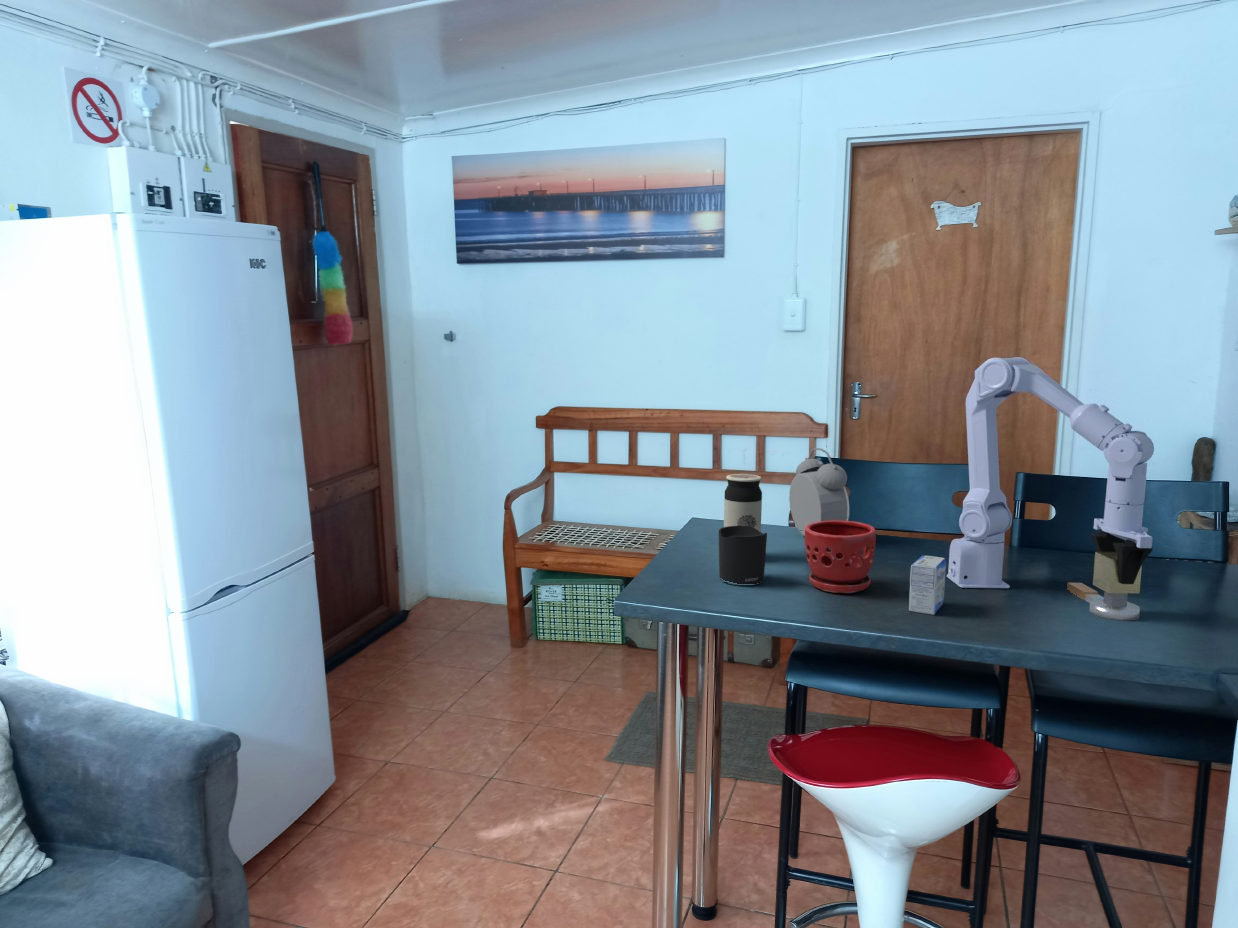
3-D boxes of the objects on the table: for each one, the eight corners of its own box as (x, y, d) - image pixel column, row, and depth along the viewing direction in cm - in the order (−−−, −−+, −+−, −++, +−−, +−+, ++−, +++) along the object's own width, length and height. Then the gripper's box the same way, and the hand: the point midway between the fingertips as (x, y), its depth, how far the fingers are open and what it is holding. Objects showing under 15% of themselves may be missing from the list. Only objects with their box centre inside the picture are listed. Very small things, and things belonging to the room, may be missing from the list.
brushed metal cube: (1108, 593, 147) (1111, 559, 146) (1092, 584, 152) (1095, 551, 151) (1139, 593, 147) (1142, 559, 146) (1122, 584, 152) (1125, 551, 151)
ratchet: (1148, 621, 146) (1151, 595, 145) (1103, 620, 146) (1105, 594, 146) (1093, 590, 164) (1095, 567, 163) (1053, 589, 164) (1055, 566, 163)
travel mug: (723, 552, 190) (725, 473, 188) (759, 554, 189) (762, 474, 187) (722, 562, 183) (724, 479, 180) (760, 563, 181) (763, 480, 179)
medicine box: (934, 616, 148) (937, 567, 147) (907, 611, 150) (910, 563, 149) (943, 604, 155) (946, 557, 153) (918, 600, 157) (921, 554, 156)
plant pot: (818, 574, 174) (820, 516, 172) (882, 585, 166) (885, 525, 164) (791, 589, 163) (794, 528, 161) (858, 601, 156) (862, 537, 154)
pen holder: (713, 584, 166) (714, 534, 165) (722, 572, 175) (723, 524, 173) (761, 589, 163) (763, 538, 162) (768, 576, 172) (770, 527, 171)
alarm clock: (851, 546, 197) (856, 452, 193) (818, 549, 194) (822, 453, 191) (815, 531, 212) (819, 443, 209) (784, 533, 210) (787, 444, 207)
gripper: (1174, 510, 140) (1165, 591, 142) (1124, 494, 154) (1117, 567, 156) (1130, 510, 140) (1122, 590, 142) (1084, 494, 154) (1078, 567, 156)
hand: (1117, 578), depth 149 cm, fingers closed on brushed metal cube, 5 cm apart
